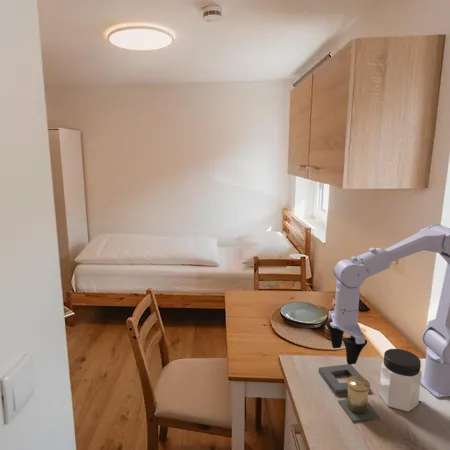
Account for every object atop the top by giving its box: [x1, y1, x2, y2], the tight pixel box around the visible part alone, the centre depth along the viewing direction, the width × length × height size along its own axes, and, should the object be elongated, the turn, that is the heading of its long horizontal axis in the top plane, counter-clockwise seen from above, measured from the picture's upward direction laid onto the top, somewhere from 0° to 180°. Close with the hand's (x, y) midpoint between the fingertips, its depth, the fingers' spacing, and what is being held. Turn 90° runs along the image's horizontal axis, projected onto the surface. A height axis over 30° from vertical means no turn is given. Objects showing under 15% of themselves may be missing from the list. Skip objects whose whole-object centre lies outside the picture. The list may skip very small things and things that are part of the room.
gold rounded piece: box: [346, 376, 371, 415], centre depth 83 cm, size 5×5×7 cm
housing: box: [318, 363, 371, 396], centre depth 94 cm, size 10×10×2 cm
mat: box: [337, 398, 381, 423], centre depth 84 cm, size 7×7×1 cm
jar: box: [378, 348, 423, 412], centre depth 86 cm, size 9×8×12 cm
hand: (343, 355), depth 90 cm, fingers open, 7 cm apart
